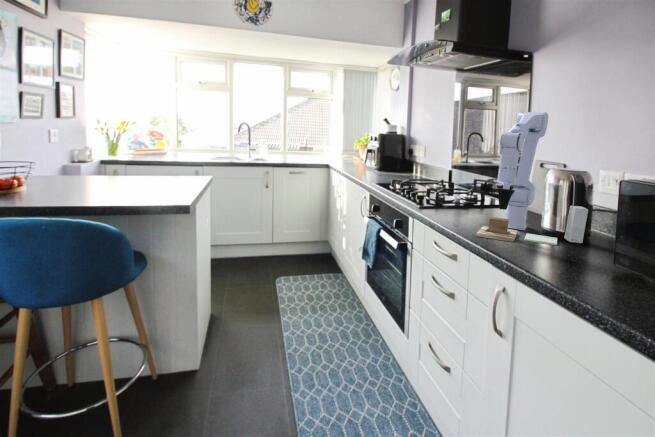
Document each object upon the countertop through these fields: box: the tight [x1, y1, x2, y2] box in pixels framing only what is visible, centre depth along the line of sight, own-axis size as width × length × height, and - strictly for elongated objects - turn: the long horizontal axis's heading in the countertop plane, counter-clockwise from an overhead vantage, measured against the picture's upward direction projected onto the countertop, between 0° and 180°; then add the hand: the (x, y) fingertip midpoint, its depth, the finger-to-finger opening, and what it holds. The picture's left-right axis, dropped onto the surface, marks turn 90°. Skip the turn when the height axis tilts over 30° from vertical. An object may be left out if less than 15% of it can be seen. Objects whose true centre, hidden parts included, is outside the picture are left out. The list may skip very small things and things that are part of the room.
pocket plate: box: [475, 225, 518, 243], centre depth 157 cm, size 14×12×1 cm
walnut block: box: [488, 216, 509, 235], centre depth 157 cm, size 4×6×6 cm, turn 62°
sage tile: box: [523, 232, 558, 246], centre depth 154 cm, size 10×10×1 cm
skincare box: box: [564, 205, 589, 244], centre depth 154 cm, size 6×4×12 cm
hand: (502, 207), depth 154 cm, fingers open, 7 cm apart
